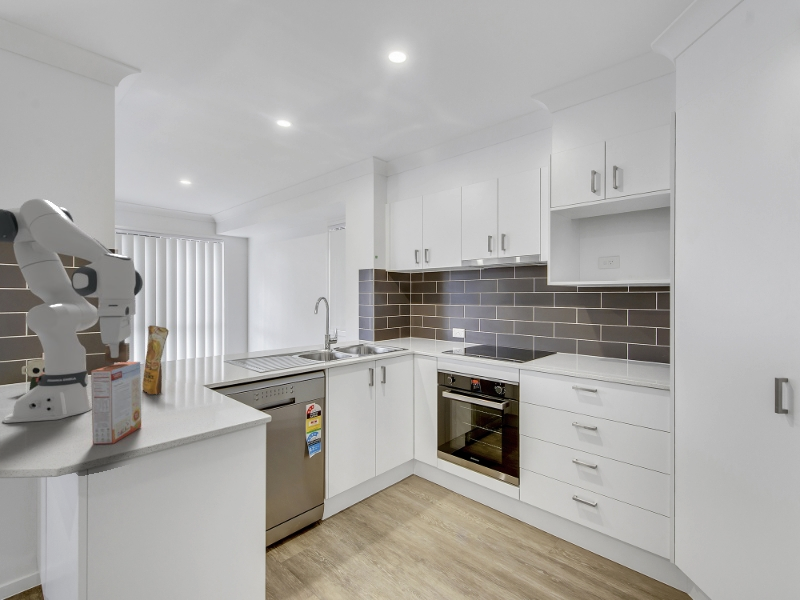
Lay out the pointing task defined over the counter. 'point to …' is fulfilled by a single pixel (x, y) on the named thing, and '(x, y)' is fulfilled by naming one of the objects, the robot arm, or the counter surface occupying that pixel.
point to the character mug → (34, 371)
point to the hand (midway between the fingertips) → (117, 355)
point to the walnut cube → (122, 354)
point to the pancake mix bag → (154, 359)
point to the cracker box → (115, 401)
